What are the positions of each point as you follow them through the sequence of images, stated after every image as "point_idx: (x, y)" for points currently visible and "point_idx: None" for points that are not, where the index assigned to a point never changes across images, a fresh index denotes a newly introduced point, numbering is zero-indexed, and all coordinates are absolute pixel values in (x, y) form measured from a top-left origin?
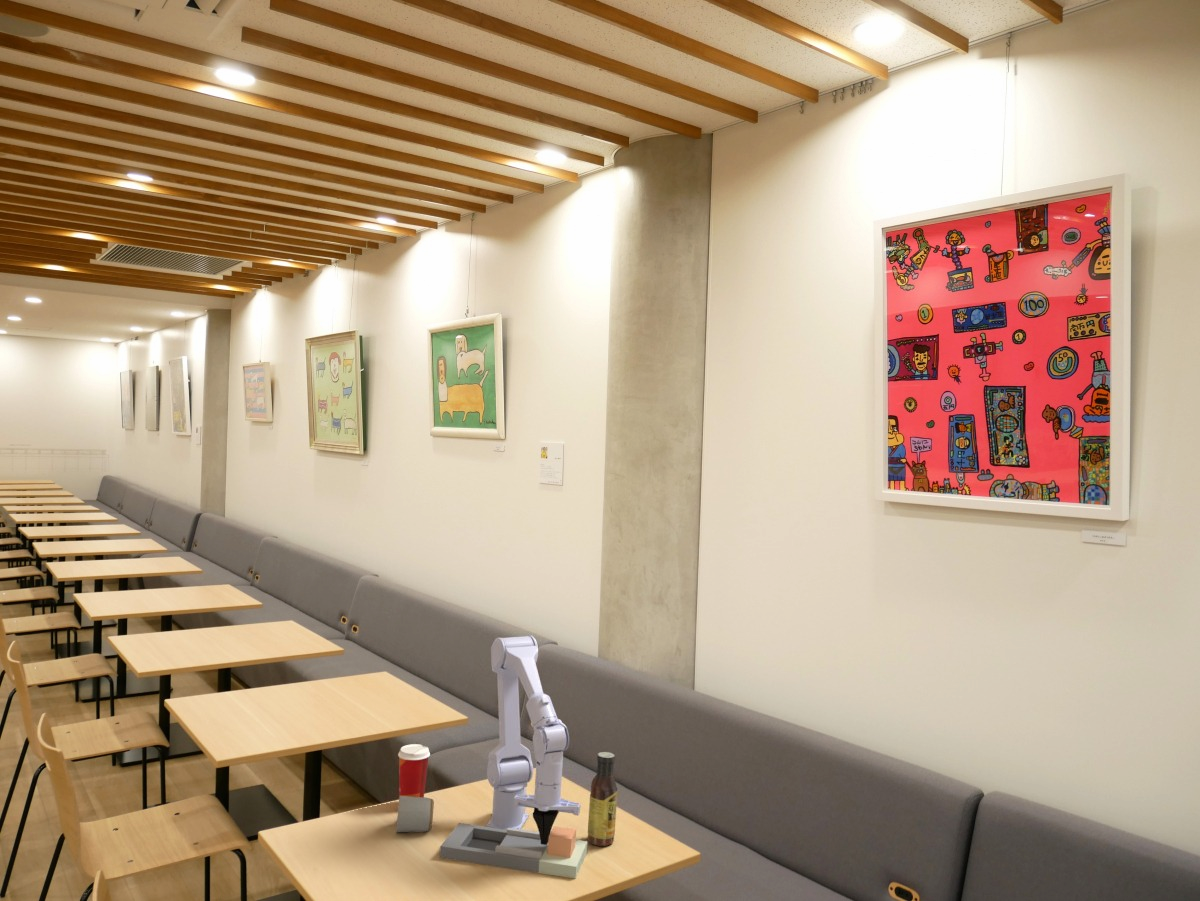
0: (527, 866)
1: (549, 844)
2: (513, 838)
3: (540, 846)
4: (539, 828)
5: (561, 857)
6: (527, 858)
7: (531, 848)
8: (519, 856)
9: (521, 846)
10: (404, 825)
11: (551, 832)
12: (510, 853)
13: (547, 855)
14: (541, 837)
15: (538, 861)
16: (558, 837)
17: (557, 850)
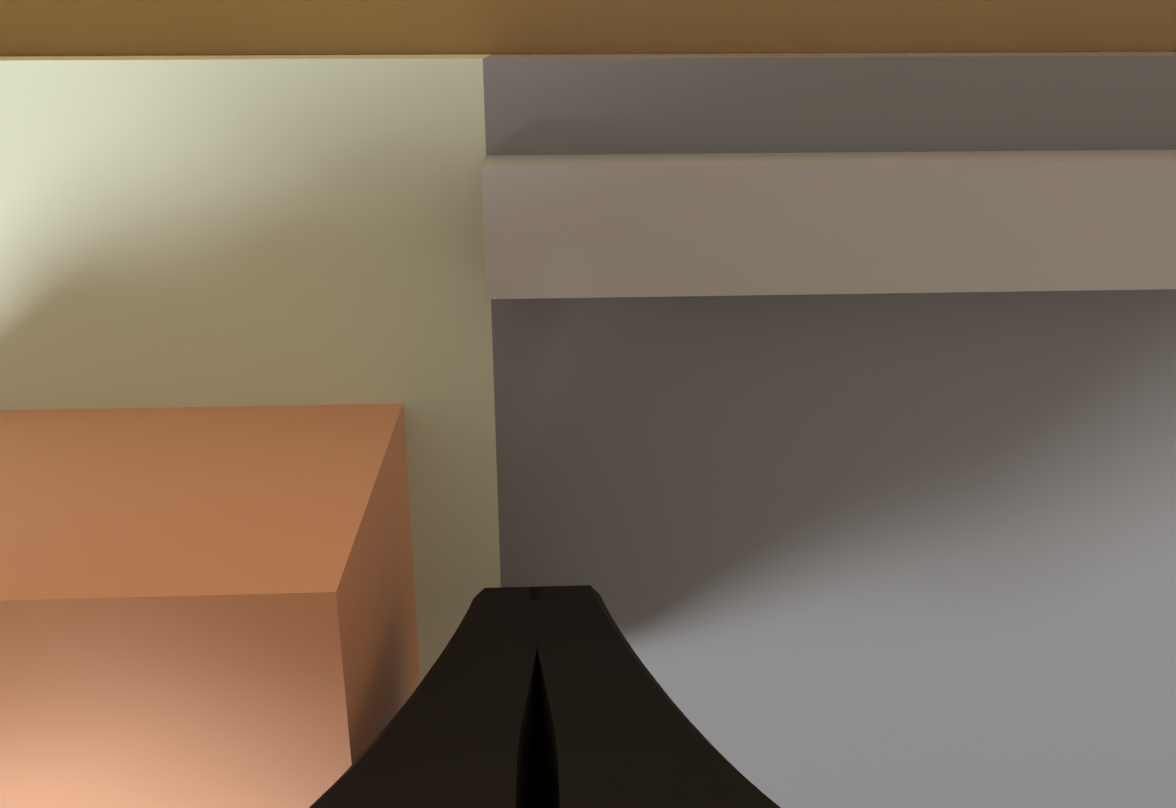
0: (716, 54)
1: (341, 487)
2: (1155, 759)
3: None
4: (683, 768)
5: (87, 363)
6: (760, 98)
7: (770, 526)
8: (944, 126)
9: (971, 537)
10: None
11: None
12: (1157, 151)
13: (389, 353)
14: (591, 641)
15: (501, 60)
16: (19, 593)
17: (165, 449)
